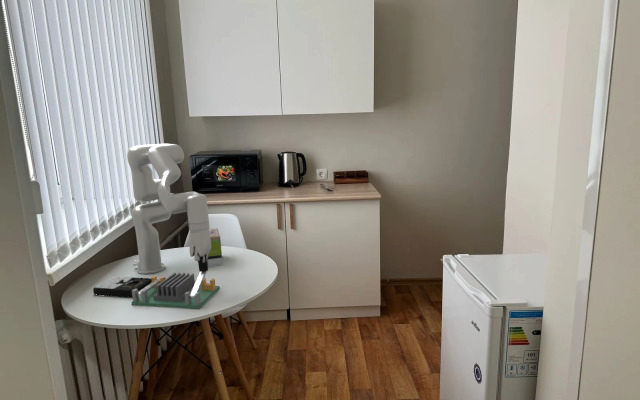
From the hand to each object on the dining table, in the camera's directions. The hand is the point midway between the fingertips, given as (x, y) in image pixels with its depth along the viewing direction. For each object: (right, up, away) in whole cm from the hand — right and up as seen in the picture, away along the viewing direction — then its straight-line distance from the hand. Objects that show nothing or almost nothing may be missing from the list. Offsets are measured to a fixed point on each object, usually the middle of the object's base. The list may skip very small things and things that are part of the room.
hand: (203, 271), depth 172 cm
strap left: (-22, -7, +3) cm, 24 cm away
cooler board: (-11, -11, +3) cm, 16 cm away
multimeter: (-36, -10, +11) cm, 39 cm away
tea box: (-8, -3, +43) cm, 44 cm away
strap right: (-1, -4, -3) cm, 5 cm away
